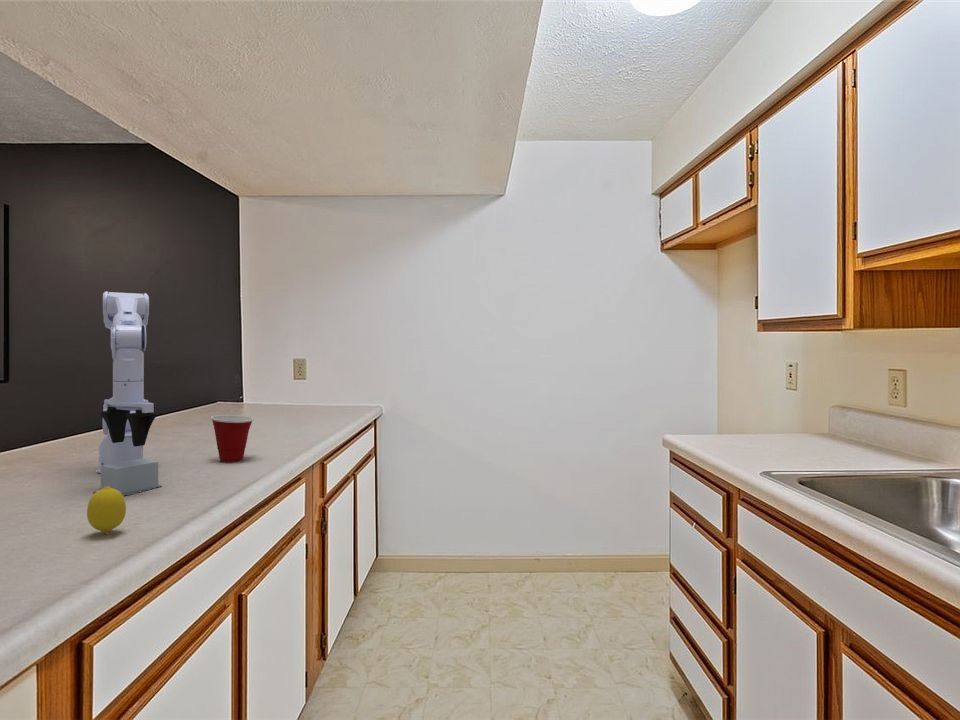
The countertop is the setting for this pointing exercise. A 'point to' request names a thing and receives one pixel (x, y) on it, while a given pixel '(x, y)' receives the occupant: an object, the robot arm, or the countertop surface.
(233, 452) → the plastic cup
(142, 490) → the thin grey panel
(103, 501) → the lemon
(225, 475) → the countertop surface
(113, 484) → the pale grey rectangular box
